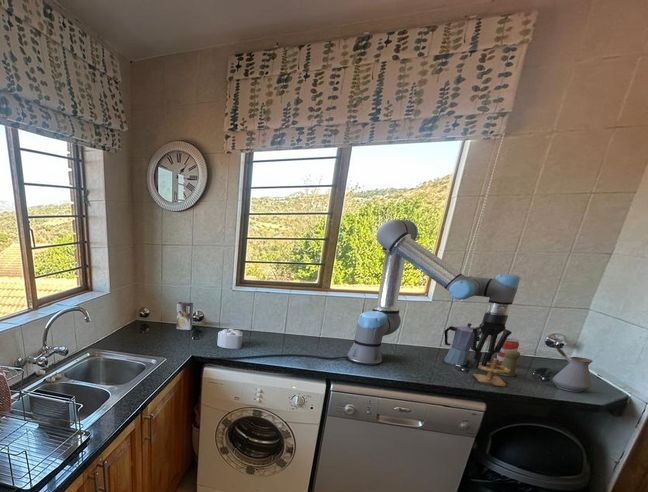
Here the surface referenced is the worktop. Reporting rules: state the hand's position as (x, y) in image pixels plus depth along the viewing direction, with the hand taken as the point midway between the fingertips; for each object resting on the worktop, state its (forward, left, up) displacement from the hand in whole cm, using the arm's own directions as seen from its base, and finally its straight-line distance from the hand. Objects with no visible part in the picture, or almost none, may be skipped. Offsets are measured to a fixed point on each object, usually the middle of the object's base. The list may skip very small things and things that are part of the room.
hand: (479, 367), depth 173 cm
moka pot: (-3, +21, -6) cm, 22 cm away
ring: (+5, 0, 0) cm, 5 cm away
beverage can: (+19, +31, -6) cm, 37 cm away
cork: (+15, +14, -6) cm, 21 cm away
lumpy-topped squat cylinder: (-109, +4, -6) cm, 110 cm away
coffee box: (-143, +28, -6) cm, 146 cm away
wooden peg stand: (+5, 0, -6) cm, 7 cm away
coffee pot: (+32, +9, -6) cm, 34 cm away
